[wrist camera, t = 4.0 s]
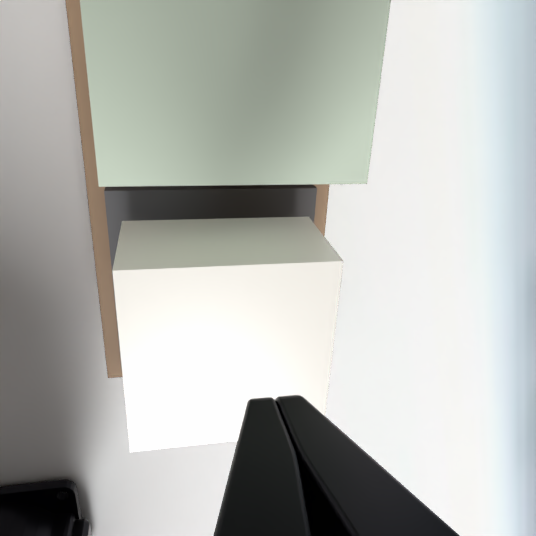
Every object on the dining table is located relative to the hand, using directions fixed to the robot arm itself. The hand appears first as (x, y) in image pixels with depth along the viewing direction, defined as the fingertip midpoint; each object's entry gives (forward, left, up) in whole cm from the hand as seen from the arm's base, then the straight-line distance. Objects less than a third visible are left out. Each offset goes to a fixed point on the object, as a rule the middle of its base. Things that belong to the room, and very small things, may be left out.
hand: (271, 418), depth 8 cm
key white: (0, -2, -7) cm, 7 cm away
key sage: (0, +5, -6) cm, 8 cm away
